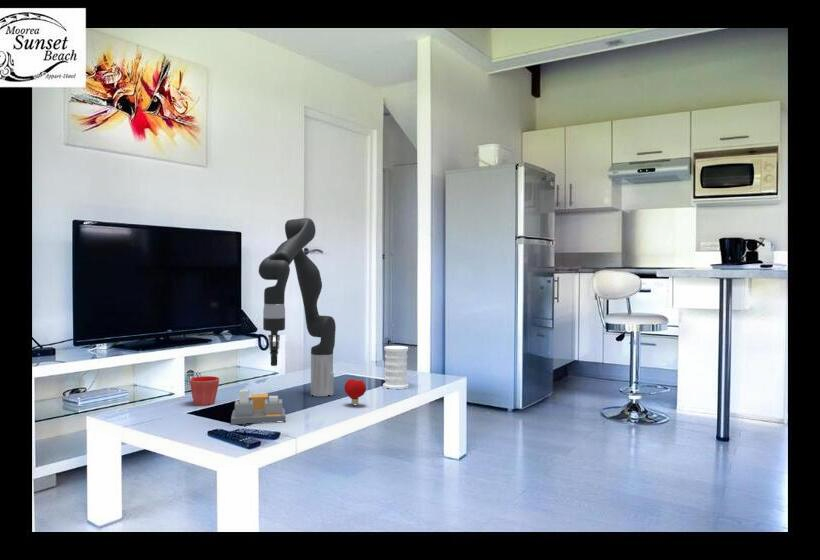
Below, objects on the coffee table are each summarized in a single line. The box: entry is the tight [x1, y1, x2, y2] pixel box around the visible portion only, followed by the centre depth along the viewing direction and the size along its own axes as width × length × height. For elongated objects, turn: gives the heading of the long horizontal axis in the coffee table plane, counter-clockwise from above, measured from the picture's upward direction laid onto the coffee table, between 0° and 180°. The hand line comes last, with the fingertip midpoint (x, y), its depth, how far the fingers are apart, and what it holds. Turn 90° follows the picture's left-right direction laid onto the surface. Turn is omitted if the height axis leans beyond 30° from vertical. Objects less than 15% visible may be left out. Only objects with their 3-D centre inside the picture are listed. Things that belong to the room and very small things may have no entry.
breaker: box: [238, 389, 250, 404], centre depth 206 cm, size 3×3×6 cm
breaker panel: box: [230, 398, 286, 425], centre depth 208 cm, size 18×12×6 cm, turn 103°
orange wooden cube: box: [250, 392, 269, 409], centre depth 220 cm, size 6×6×6 cm
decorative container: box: [382, 345, 409, 388], centre depth 266 cm, size 12×12×18 cm
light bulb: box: [344, 378, 367, 405], centre depth 229 cm, size 9×7×10 cm
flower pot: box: [189, 375, 220, 406], centre depth 230 cm, size 11×11×10 cm
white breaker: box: [268, 395, 279, 403], centre depth 209 cm, size 3×3×6 cm
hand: (274, 365), depth 209 cm, fingers closed
